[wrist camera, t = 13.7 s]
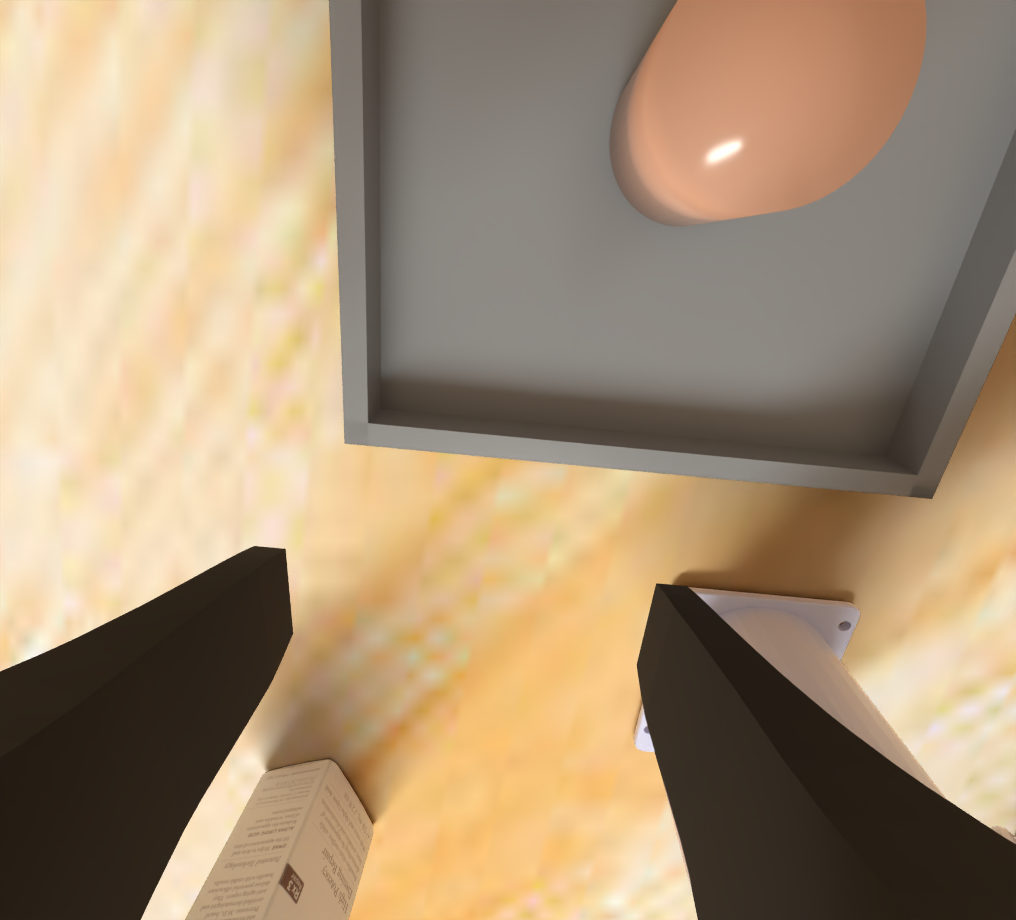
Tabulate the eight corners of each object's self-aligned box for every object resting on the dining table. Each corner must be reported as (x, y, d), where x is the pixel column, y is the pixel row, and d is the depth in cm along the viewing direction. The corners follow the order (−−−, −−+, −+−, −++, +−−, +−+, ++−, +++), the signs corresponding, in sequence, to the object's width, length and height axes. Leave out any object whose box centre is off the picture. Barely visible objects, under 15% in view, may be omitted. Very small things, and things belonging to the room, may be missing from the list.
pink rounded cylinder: (752, 232, 16) (873, 222, 10) (598, 220, 16) (638, 202, 10) (795, 43, 14) (970, -92, 9) (623, 29, 14) (687, -115, 9)
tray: (884, 469, 20) (931, 498, 17) (366, 420, 20) (344, 443, 17) (1196, -305, 12) (1354, -434, 10) (351, -392, 12) (310, -544, 10)
